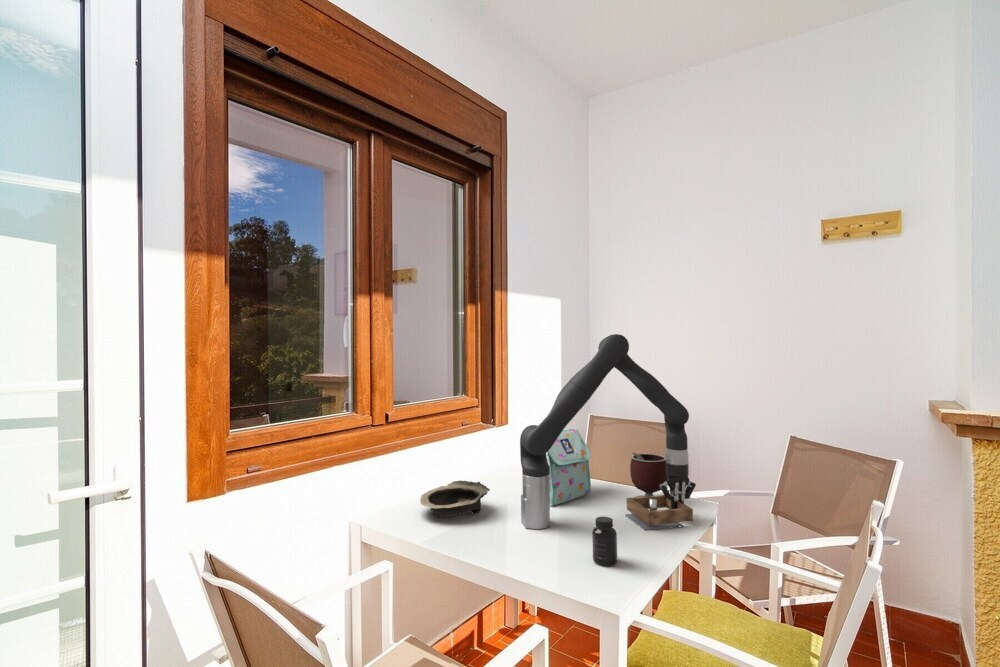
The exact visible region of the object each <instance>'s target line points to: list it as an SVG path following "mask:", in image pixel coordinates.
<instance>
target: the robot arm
mask: <svg viewBox="0 0 1000 667" xmlns="http://www.w3.org/2000/svg"><path fill="white" fill-rule="evenodd" d="M597 349H598V351H597V352H596V353H595V355H594V356H593V358H592V359H591V360H590V361H589V362H587V363H586V364H585V365H584V366H583V367H582V368H581V369H579V371H577V372H576V373H575V374H574V375H573V376H572V377H571V378H570V379H569V380H568V382H566V384H565V385H564V386H563V387H562V389H560V391H559V393H558V395H557V396H556V398H555V400H554V403H553V405H552V408H551V410H550V411H549V412H548V414H547V415H546V417H545V418H544V419H543V420H542V421H541V422H540V423H539V424H538V425H536V424H531V425H527V426H526V427H525V428H524V429H523V430H522V431H521V434H520V438H519V448H520V449H519V450H520V451H519V452H520V465H521V469H522V470H521V471H522V494H520V518H521V519H520V521H521V522H520V523H521V524H522V525H523V527H524V528H525V529H532V530H541V529H547V528H548V526H549V525H551V511H550V510H551V506H550V470H549V464H548V462H547V457H546V453H547V452H548V451H549V450H550V448H551V447H552V446H553V444H554V443H555V441H556V440H557V438H558V437H559V435H560V434H561V432H562V431H563V430H565V429H566V427H567V426H568V425H569V423H570V422H571V421H572V420H573V419H574V418H575V416H576V415H578V413H579V412H580V410H582V408H583V407H584V406H585V405H586V404H587V402H588V401H589V400H590V399H591V397H592V396H593V395H594V394H595V392H596V391H597V390H598V389H599V387H600V385H601V384H602V382H603V381H604V380H605V379H606V377H607V376H608V374H609V373H610V372H611V371H612V370H613V369H614V368H615V369H616V370H618V371H619V373H621V375H623V376H624V377H626V379H628V380H629V381H630V382H631V383H632V384H633V385H634V386H635V387H636V388H637V389H638V391H640V392H641V394H642V395H643V396H644V397H645V398H646V399H647V400H648V401H649V402H650V403H651V404H652V405H654V406H655V407H656V408H658V410H659V411H660V412H661V413H662V414H663V419H664V427H665V434H666V435H665V436H666V438H665V443H666V444H665V446H666V447H665V448H666V450H665V457H666V479H665V482H664V483H663V484H659V487H660V489H661V490H660V491H662V495H665V497H666V498H667V499H669V500H671V509H677V500H678V501H679V502H681V503H683V504H685V500H689V499H690V498H691V496H692V494H693V491H694V489H695V488H696V485H697V484H696V483H695V482H693V481H691V480H690V478H689V475H690V472H689V468H690V467H689V465H690V464H689V453H688V452H689V450H688V445H689V444H688V435H687V432H686V429H685V428H686V427H685V424H687V422H688V421H689V420H690V413H689V410H688V409H687V408H686V407H685V405H683V404H682V403H681V402H680V401H679V400H678V399H677V398H675V397H674V396H673V395H672V394H671V393H670V391H668V390H667V387H666V386H664V385H663V384H662V383H661V382H660V381H659V380H658V379H657V378H656V377H655V376H654V375H652V374H651V373H650V372H648V371H647V370H646V369H645V368H643V367H641V366H640V365H639V364H638V363H637V362H635V360H633V358H631V357H630V355H629V354H628V353H629V350H630V343H629V341H628V338H626V336H624V335H622V334H617V333H615V334H614V333H613V334H610V335H608V336H606V337H604V338H603V339H602V340H601V341H600V342H599V343H598V348H597ZM668 488H669V490H668ZM549 527H550V526H549Z"/></svg>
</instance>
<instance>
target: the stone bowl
mask: <svg viewBox="0 0 1000 667" xmlns="http://www.w3.org/2000/svg"><path fill="white" fill-rule="evenodd" d="M490 490H491V489H490V488H488V487H487V485H485V484H483V483H481V482H480V481H477V482H474V481H467V480H456V481H455V480H454V481H452V482H451V483H448V484H447V485H441V486H438V487H435V488H433V489H430V490H428V491H427V492H424V493H423V494H421V496H420V498H419V499H420V500H419V502H420V504H421V506H424V507H427V508H430V510H431V511H432V513H433V516H436V517H437V518H439V517H449V516H457V515H462V514H465V513H469V512H470V513H472V514H473V515H475V514H476V513H478V514H480V513H481V511H482V500H481V499H483V498H484V497H485V496H486V495H487V494H488V492H489V491H490ZM490 492H491V491H490ZM476 515H477V514H476Z"/></svg>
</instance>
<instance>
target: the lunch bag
mask: <svg viewBox="0 0 1000 667" xmlns="http://www.w3.org/2000/svg"><path fill="white" fill-rule="evenodd" d="M546 457H547V462H548V464H549V470H550V507H553V506H557V505H560V503H561V504H563V503H567V502H569V501H572V500H575V499H578V498H582V497H585V496H587V495H589V494H590V493H591V490H592V485H591V473H590V464H589V459H590V458H591V451H590V449H589V447H588V445H587V444H586V442H585V440H584V438H583V437H582V435H581V432H580V431H579V429H578V428H564V429H563V431H562V432H561V434H560V435H559V437H558V438H557V440H556V441H555V443H554V444H553V446H552V447H551V448H550V450H549V451H548V452H547V453H546Z"/></svg>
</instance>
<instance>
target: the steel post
mask: <svg viewBox="0 0 1000 667" xmlns="http://www.w3.org/2000/svg"><path fill="white" fill-rule="evenodd" d="M648 510H650V511H657V510H658V508H657V499H656V498H649V509H648Z"/></svg>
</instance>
